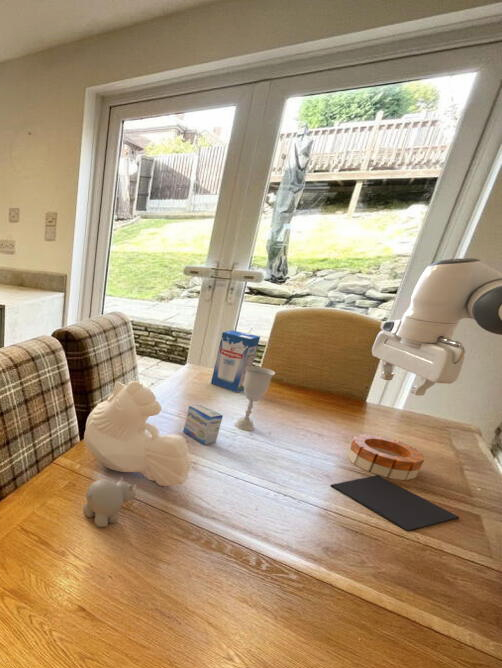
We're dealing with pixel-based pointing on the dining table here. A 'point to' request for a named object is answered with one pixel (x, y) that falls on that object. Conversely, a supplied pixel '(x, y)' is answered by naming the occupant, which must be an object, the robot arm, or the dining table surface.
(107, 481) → the toy rhinoceros
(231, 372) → the milk carton
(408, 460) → the top ring
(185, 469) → the decorative rooster
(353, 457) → the bottom ring
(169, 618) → the dining table surface
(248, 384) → the chalice
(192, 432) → the medicine box
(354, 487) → the mat
